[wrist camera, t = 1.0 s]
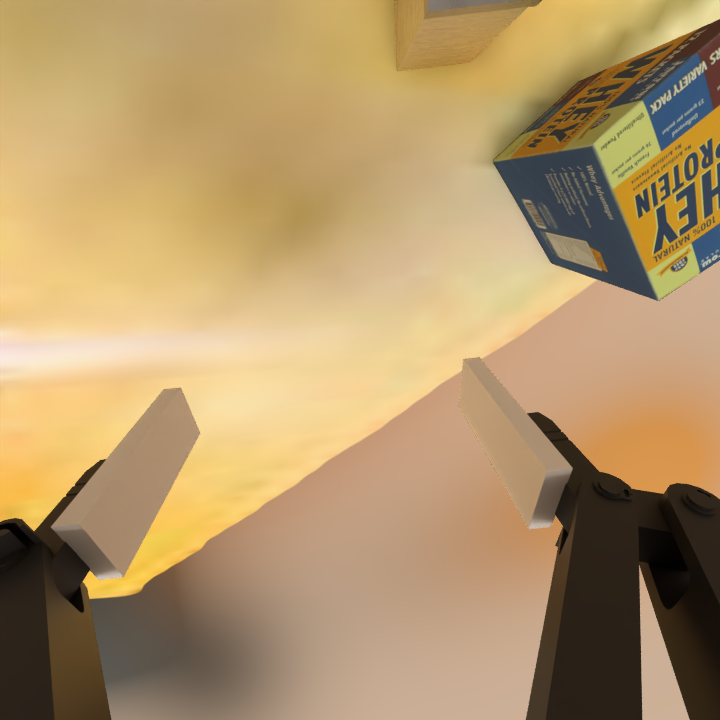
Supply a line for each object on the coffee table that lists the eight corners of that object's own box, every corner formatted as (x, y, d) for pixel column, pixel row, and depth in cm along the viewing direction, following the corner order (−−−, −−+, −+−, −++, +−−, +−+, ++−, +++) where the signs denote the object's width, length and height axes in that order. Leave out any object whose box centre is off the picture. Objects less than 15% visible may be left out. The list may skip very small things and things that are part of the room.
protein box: (578, 78, 32) (764, -7, 18) (630, 205, 38) (798, 214, 24) (489, 161, 34) (590, 142, 21) (550, 266, 40) (660, 305, 27)
